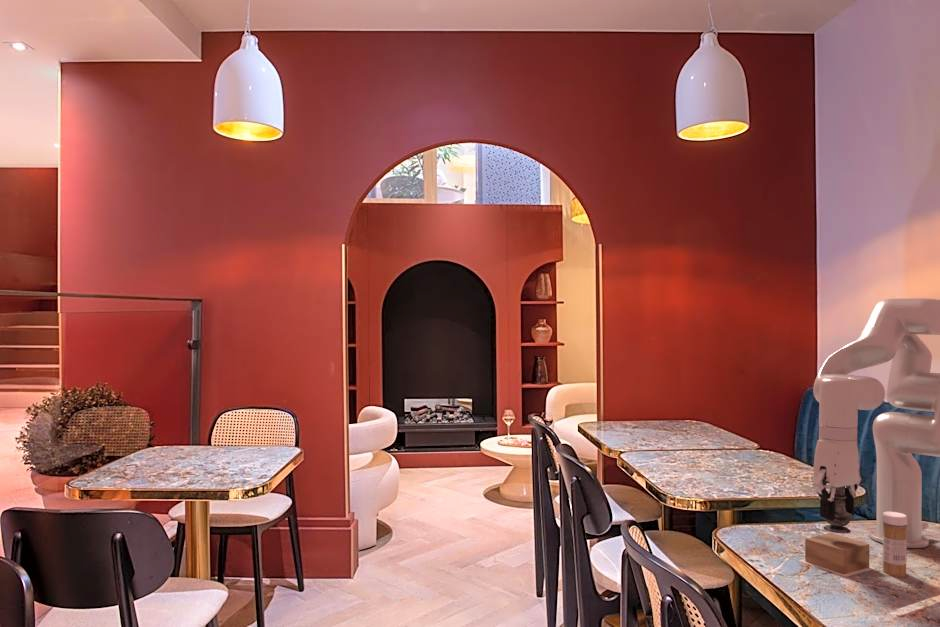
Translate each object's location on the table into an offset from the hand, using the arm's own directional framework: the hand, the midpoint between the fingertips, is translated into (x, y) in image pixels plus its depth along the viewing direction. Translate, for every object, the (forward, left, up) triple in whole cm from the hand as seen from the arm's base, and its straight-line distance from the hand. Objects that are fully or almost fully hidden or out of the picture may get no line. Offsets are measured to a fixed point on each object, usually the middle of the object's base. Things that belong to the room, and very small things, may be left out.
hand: (837, 515), depth 155 cm
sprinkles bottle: (-6, +9, -12) cm, 16 cm away
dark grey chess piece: (0, 0, -3) cm, 3 cm away
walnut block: (0, 0, -11) cm, 11 cm away
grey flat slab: (+1, 0, -12) cm, 12 cm away
